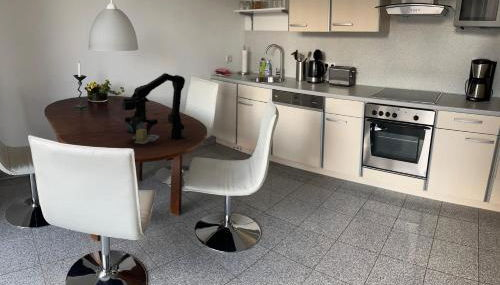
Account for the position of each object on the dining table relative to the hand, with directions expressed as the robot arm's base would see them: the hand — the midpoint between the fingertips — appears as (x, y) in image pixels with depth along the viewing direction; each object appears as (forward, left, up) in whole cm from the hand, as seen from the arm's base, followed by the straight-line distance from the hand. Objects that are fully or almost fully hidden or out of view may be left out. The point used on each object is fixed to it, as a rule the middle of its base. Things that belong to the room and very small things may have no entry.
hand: (141, 134), depth 224 cm
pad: (0, 0, -5) cm, 5 cm away
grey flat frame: (+1, -7, -5) cm, 9 cm away
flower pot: (+15, -19, -5) cm, 25 cm away
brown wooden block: (0, 0, -4) cm, 4 cm away
